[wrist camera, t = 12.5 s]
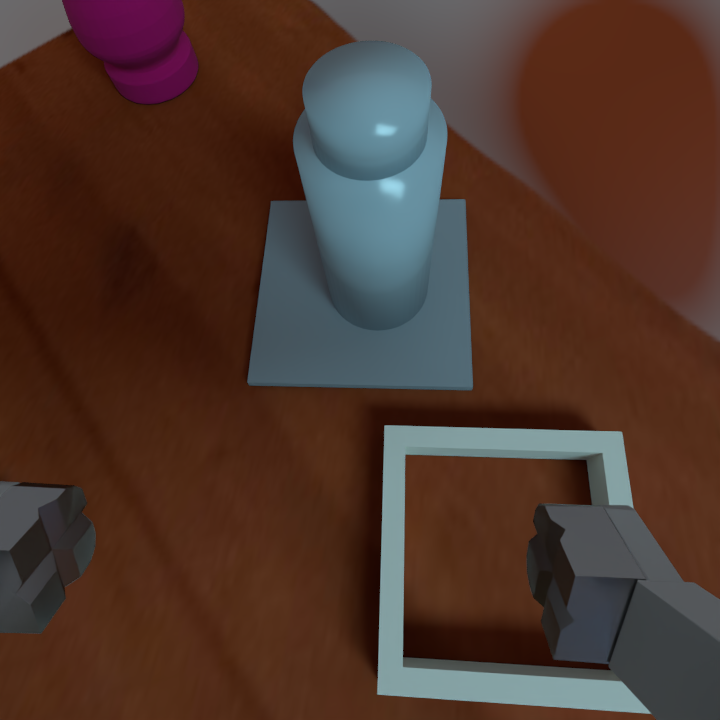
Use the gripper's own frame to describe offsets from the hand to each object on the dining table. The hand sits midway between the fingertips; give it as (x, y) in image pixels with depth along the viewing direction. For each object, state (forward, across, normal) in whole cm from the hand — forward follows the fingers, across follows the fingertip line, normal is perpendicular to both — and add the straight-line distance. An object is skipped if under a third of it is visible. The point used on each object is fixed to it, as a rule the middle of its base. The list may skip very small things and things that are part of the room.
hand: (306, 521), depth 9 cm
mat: (+21, 0, +2) cm, 21 cm away
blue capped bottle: (+21, -1, +1) cm, 21 cm away
